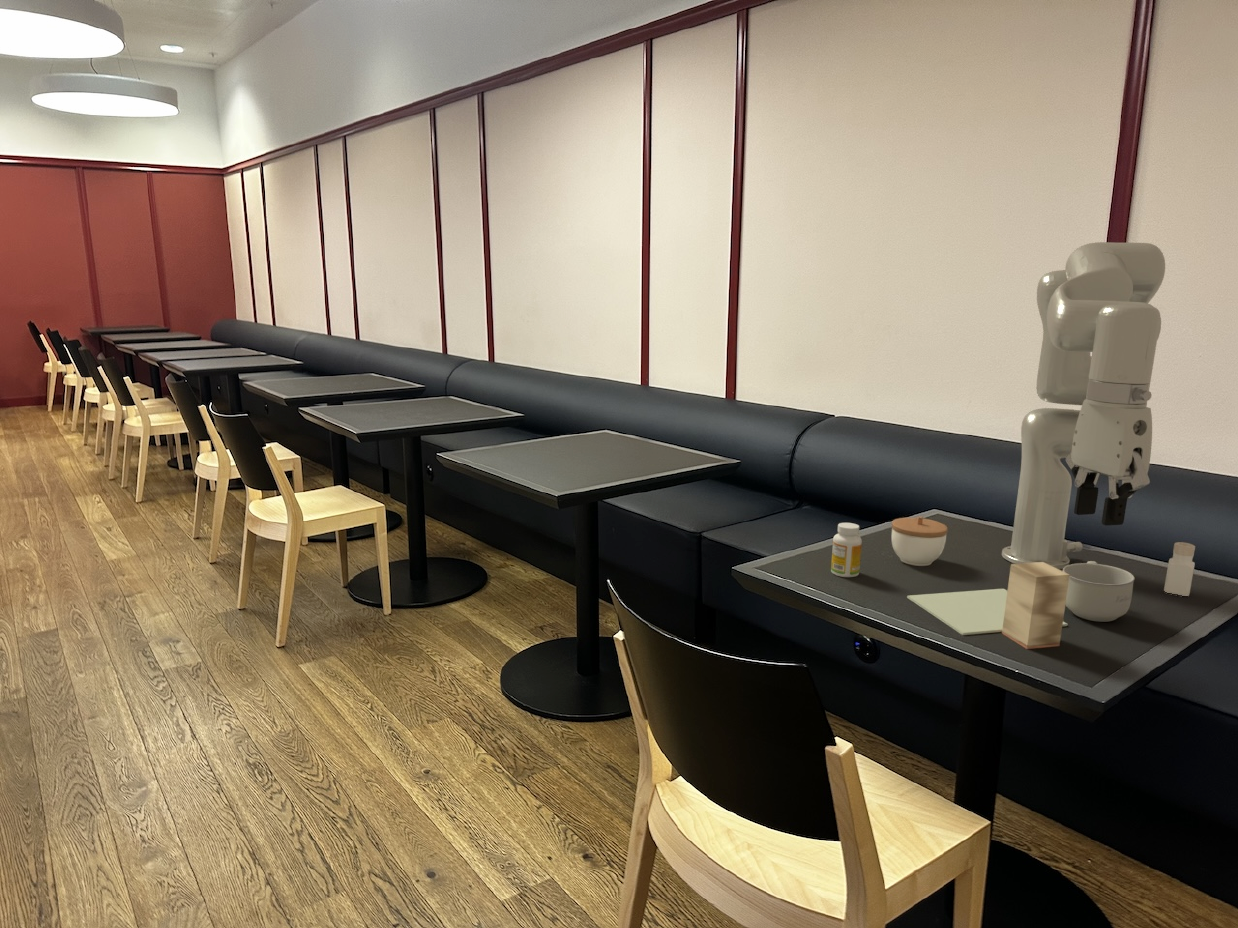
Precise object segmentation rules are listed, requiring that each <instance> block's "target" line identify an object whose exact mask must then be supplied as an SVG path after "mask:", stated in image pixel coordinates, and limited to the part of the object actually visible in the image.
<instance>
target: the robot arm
mask: <svg viewBox="0 0 1238 928" xmlns="http://www.w3.org/2000/svg"><path fill="white" fill-rule="evenodd" d="M1165 273H1166V260H1165V255H1164V252H1163V251H1162V250H1161V249H1160V247H1158V246H1157V245H1155V244H1152V243H1149V242H1112V241H1111V242H1106V241H1103V242H1102V241H1099V242H1098V241H1097V242H1091V243H1086V244H1083V245H1081V246H1079V247H1078V248H1075V250H1073V251H1072V252H1071V253H1070V255H1069V256H1068V257H1067V260H1066V263H1065V267H1064V269H1061V270H1060V269H1059V270H1052V271H1049V272H1047V273H1045V274H1044V275H1042V276H1041V277H1040V279H1039V280H1038V283H1037V287H1036V288H1037V289H1036V304H1037V307H1038V308H1037V309H1038V312H1039V317H1040V319H1041V323H1042V330H1043V331H1042V333H1043V334H1042V342H1041V348H1040V356H1039V362H1038V370H1037V374H1036V375H1037V377H1036V387H1035V388H1036V394H1037V396H1038V397H1039V399H1040V400H1042V401H1043V402H1046V403H1051V404H1059V405H1070V406H1071V405H1072V406H1081V408H1080V409H1069V408H1053V407H1045V408H1043V407H1042V408H1035V409H1033V410H1030V411H1028V412H1027V414H1025V416H1024V417H1023V420H1022V421H1021V426H1020V429H1021V430H1020V431H1021V432H1020V433H1021V434H1020V436H1021V438H1020V440H1021V462H1020V464H1021V465H1020V474H1019V482H1018V491H1017V497H1016V504H1015V506H1016V507H1015V513H1014V520H1013V521H1014V522H1013V529H1012V536H1011V545H1009V546H1005V547H1004V548H1002V550H1001V557H1002V558H1003V559H1005V560H1006V561H1008V562H1009V563H1011V564H1020V563H1035V562H1044V563H1046V564H1048V565H1050V566H1053V567H1055V568H1057V569H1059V570H1063V568H1064V567H1066V566H1068V565H1070V558H1069V556H1067V554H1069V553H1070V552H1081V551H1082V550H1083V544H1082V542H1081V541H1076V542H1075V541H1074V542H1073V541H1071V542H1069V541H1068V540H1066V539H1065V535H1066V526H1067V522H1068V521H1067V519H1068V513H1069V508H1070V507H1069V506H1070V501H1071V500H1070V499H1071V493H1072V487H1073V486H1072V485H1074V486H1075V487H1076V488H1077V490H1076V497H1075V502H1074V510H1073V513H1074V514H1075V515H1077V516H1085V515H1086V516H1087V515H1094V514H1095V513H1096V509H1097V501H1098V498H1099V497H1098V496H1099V487H1098V486H1096V485H1097V483H1098V479H1099V477H1100V475H1103V476H1105V477H1106V476H1107V477H1108V494H1109V495H1108V496H1109V497H1105V498H1104V502H1103V503H1104V504H1103V510H1102V517H1101V524H1102V525H1104V526H1107V527H1108V526H1121V525H1123V524H1124V522H1125V516H1126V511H1127V510H1126V509H1127V504H1128V503H1127V502H1128V499H1131V498H1132V497H1133V494H1135V493H1136V492H1137V491H1139V490H1140V489H1143V488H1144V487H1146V486H1148V485H1150V483H1151V481H1150V478H1149V475H1148V473H1149V469H1150V465H1151V464H1150V463H1151V456H1152V455H1151V454H1152V443H1153V415H1152V408H1151V407H1148V401H1150V400H1151V398H1152V392H1151V391H1150V386H1151V380H1152V374H1153V369H1154V361H1155V357H1156V356H1155V355H1156V349H1157V344H1158V343H1157V342H1158V340H1159V338H1160V333H1161V330H1162V318H1161V317H1162V316H1161V312H1160V310H1159V309H1158V308H1157V307H1155V306H1154V305H1152V304H1151V303H1150V302H1151V300H1152V299H1153V298H1154V296H1155V295H1156V293H1158V291H1159V289H1160V287H1161V285H1162V283H1163V280H1164V278H1165ZM1064 458H1065V462H1066V464H1067V466H1068V467H1069V468H1070V470H1071V473H1072V475H1073V477H1074V482H1073V481H1072V475H1071V474H1070V472H1069V470H1068V469H1067V468H1066V467H1065V465H1064V464H1063V463H1062V462H1061V459H1064ZM1119 481H1121V485H1120V482H1119ZM1072 482H1073V483H1074V484H1072Z"/></svg>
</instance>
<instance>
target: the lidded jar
mask: <svg viewBox="0 0 1238 928" xmlns="http://www.w3.org/2000/svg"><path fill="white" fill-rule="evenodd" d="M948 530H949V529H948V527H947V525H946V524H944V523H941V522H939V521H937V520H932V519H930V518H929V519H928V518H924V517H923V516H921V515H920V516H917V517H899V518H895V519H893V520H892V521H891V546H892V548H893V551H894V553H895V554H896V556H897V557H898V558H899V560H900V562H902V563H905V564H906V565H911V566H917V567H926V566H931V565H932V563H933V562H935V561H936V560H937V559H938V558H939V557H940V556H941V555H942V553H943V551H944V549H945V546H946V541H947V534H948Z"/></svg>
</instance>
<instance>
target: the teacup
mask: <svg viewBox="0 0 1238 928" xmlns="http://www.w3.org/2000/svg"><path fill="white" fill-rule="evenodd" d="M1062 571H1063V572H1065V573H1067V574H1069V575H1070V577H1069V583H1068V590H1067V597H1066V604H1065V608H1066V607H1067V609H1068V610H1070V611H1071V612H1072V613H1073V614H1074V615H1075V616H1076V617H1079V618H1081V619H1083V620H1087V621H1092V622H1098V623H1099V622H1101V623H1104V622H1106V623H1108V622H1113V621H1115V620H1117V619H1118V618H1120V617H1123V616H1124V615H1125V614H1127V612H1128V611H1129V609H1130V606H1131V602H1132V597H1133V590H1134V582H1135V576H1134V574H1132V573H1131V572H1129V571H1127V570H1125V569H1123V568H1120V567H1116V566H1111V565H1107V564H1100V563H1098V562H1096V561H1094V560H1090V561H1089V560H1088V561H1087V562H1083V563H1082V562H1080V563H1072V564H1069V565H1068V566H1066V567H1064V568H1063V569H1062Z"/></svg>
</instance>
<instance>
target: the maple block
mask: <svg viewBox="0 0 1238 928" xmlns="http://www.w3.org/2000/svg"><path fill="white" fill-rule="evenodd" d="M1008 577H1009V578H1008V584H1007V598H1006V606H1005V614H1004V621H1003V629H1002V632H1001V634H1002V635H1004V636H1005V637H1007V638H1008V639H1010V640H1012V641H1013V642H1015V643H1017V644H1018V645H1019V646H1021V647H1023V648H1025V650H1030V649H1042V648H1051V647H1052V648H1053V647H1060V643H1061V638H1062V630H1063V626H1062V624H1063V622H1064V615H1065V610H1066V605H1065V604H1066V597H1067V590H1068V583H1069V577H1070V575H1069V574H1067V573H1065V572H1063V570H1062V569H1057V568H1055V567H1053V566H1050V565H1048V564H1046V563H1044V562H1035V563H1020V564H1014V563H1011V564H1010V568H1009V576H1008Z"/></svg>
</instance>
